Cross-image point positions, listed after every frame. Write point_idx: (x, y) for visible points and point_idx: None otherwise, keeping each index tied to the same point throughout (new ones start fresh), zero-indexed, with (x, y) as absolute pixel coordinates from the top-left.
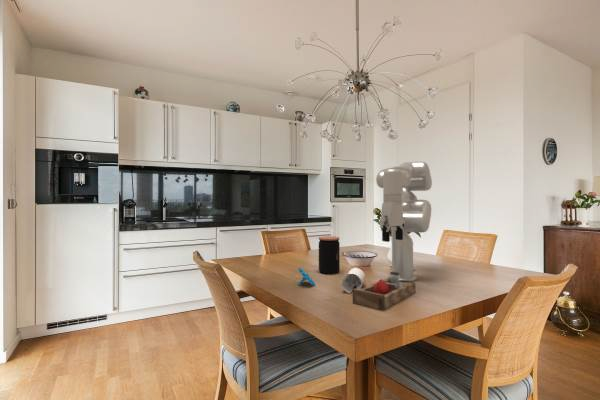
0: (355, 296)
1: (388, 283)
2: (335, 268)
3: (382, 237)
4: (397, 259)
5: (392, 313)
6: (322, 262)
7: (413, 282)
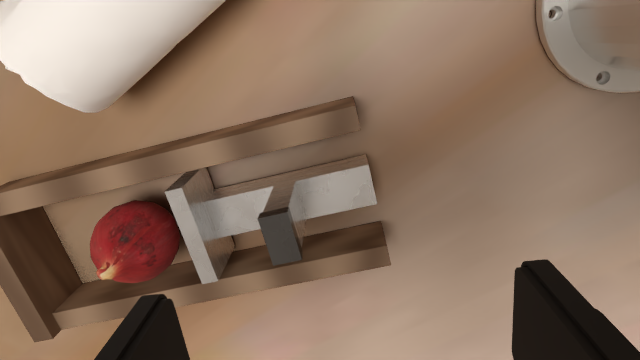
0: None
1: (192, 245)
2: None
3: (120, 332)
4: None
5: (89, 335)
6: None
7: (387, 256)
